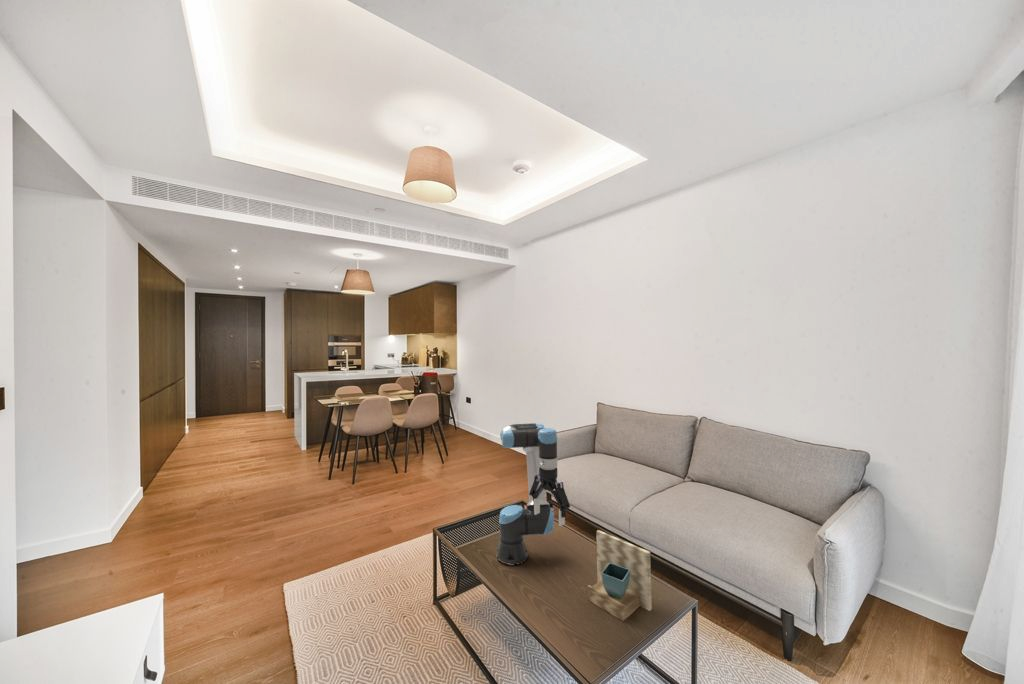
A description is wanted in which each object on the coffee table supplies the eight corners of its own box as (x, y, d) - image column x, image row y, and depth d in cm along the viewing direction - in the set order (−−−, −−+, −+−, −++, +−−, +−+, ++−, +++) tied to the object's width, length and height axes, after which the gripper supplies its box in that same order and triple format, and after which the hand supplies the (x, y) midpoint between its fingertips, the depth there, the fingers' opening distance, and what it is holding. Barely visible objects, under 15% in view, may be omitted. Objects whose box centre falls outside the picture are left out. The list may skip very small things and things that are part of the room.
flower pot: (623, 605, 139) (623, 581, 139) (601, 596, 144) (600, 573, 144) (631, 592, 146) (630, 569, 146) (609, 584, 151) (609, 562, 152)
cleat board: (580, 594, 151) (578, 540, 152) (599, 580, 160) (598, 529, 161) (633, 627, 133) (631, 566, 134) (651, 609, 142) (650, 551, 143)
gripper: (520, 462, 158) (521, 512, 158) (566, 477, 140) (567, 533, 140) (532, 458, 163) (533, 506, 163) (578, 472, 145) (579, 526, 145)
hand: (549, 519), depth 151 cm, fingers open, 13 cm apart
